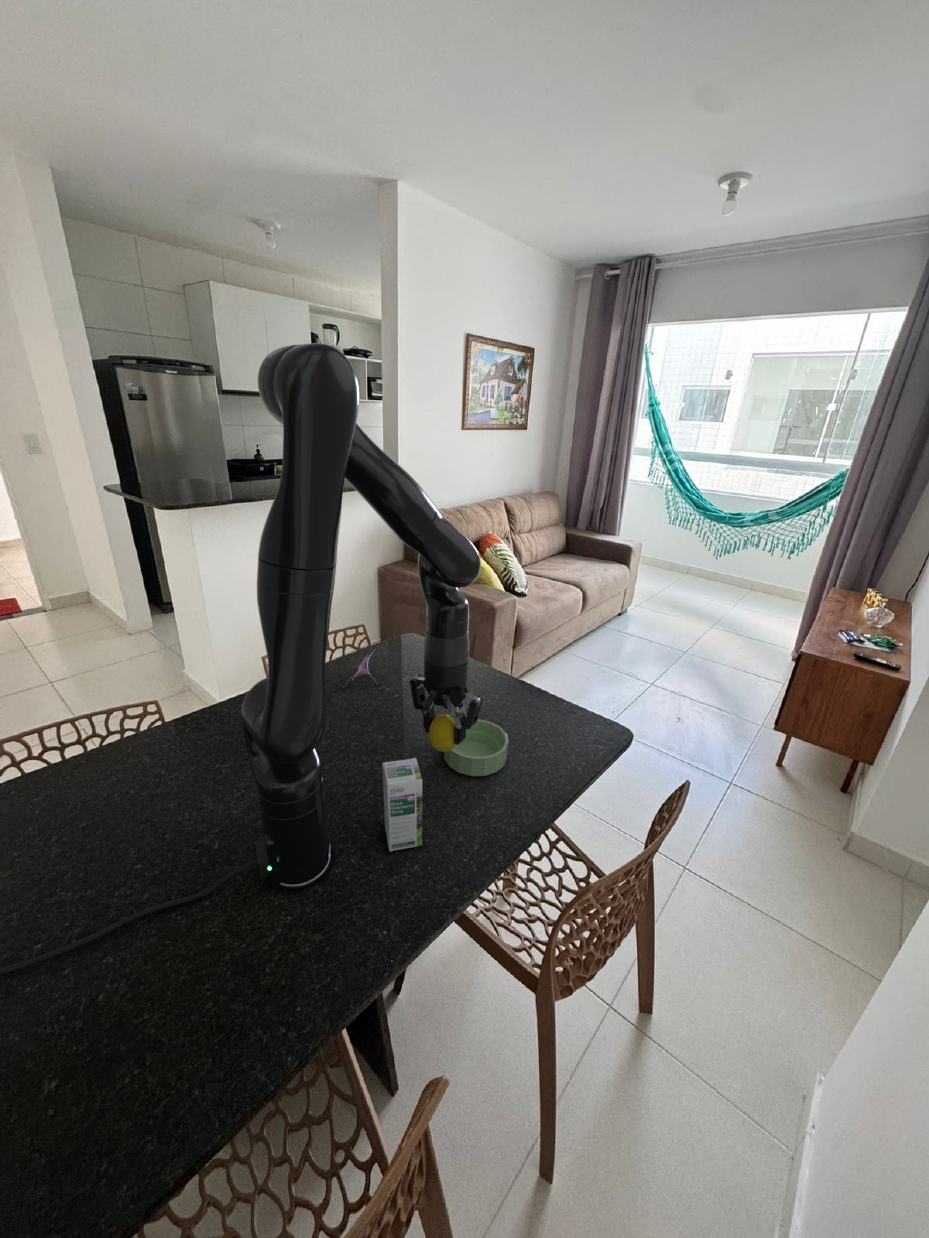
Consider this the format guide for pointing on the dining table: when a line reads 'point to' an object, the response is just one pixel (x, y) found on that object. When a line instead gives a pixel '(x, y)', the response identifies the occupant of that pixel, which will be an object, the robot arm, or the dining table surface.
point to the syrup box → (402, 803)
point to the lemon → (442, 733)
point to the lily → (363, 669)
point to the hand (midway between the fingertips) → (444, 735)
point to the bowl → (479, 750)
